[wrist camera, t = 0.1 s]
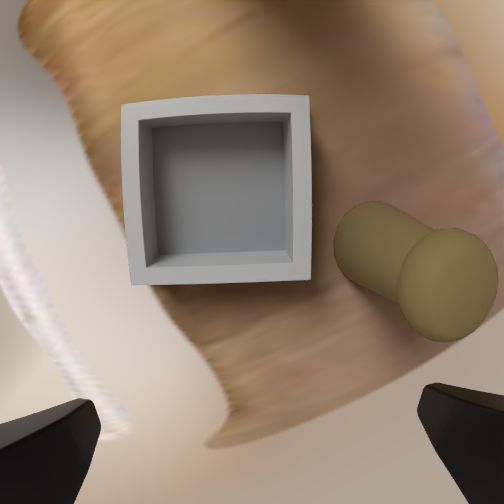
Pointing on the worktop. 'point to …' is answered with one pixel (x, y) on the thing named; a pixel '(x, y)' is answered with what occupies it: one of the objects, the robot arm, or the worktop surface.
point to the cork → (419, 269)
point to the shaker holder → (217, 189)
